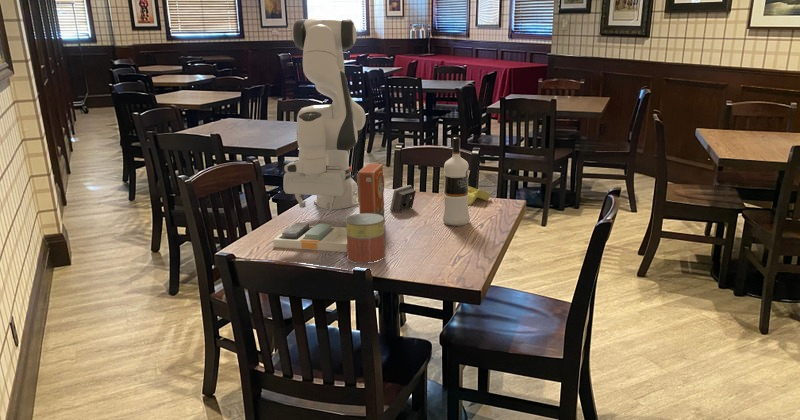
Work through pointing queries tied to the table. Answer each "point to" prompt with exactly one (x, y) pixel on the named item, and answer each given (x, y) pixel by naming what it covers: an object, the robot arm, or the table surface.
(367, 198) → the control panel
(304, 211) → the table surface
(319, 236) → the panel
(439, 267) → the table surface
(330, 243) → the cream compartment tray
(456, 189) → the vodka
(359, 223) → the canned food
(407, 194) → the electrical switch
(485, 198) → the plastic component
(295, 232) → the dark grey long block
